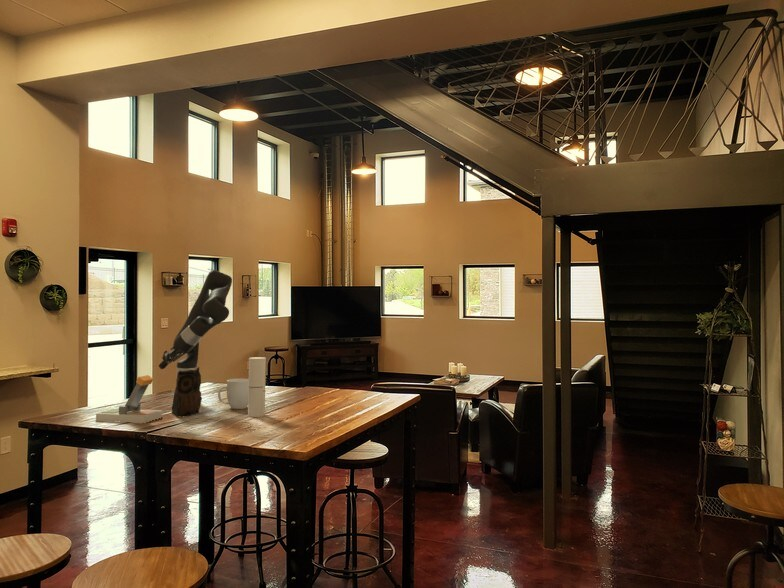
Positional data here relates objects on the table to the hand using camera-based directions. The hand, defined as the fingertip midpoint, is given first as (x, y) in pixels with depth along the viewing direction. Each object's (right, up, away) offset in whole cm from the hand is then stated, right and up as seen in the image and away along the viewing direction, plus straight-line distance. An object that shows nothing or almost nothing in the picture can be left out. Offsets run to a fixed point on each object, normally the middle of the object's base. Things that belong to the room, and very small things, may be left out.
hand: (160, 367), depth 225 cm
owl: (+4, -23, +16) cm, 28 cm away
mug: (+22, -23, +30) cm, 44 cm away
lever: (-14, -18, +2) cm, 23 cm away
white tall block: (+36, -23, +14) cm, 45 cm away
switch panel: (-14, -22, +2) cm, 26 cm away
